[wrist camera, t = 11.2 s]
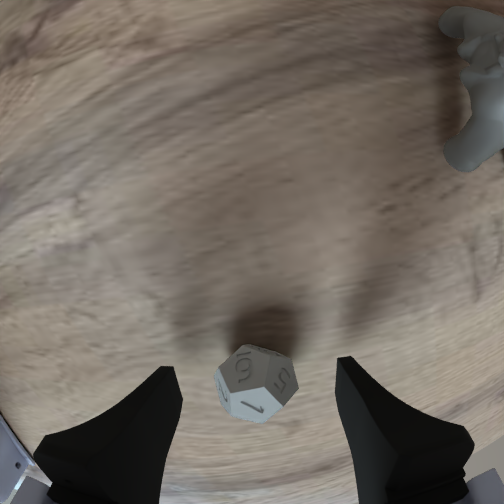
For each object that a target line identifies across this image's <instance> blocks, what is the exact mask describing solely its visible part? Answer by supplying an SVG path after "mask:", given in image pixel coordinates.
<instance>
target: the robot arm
mask: <svg viewBox="0 0 504 504" xmlns="http://www.w3.org/2000/svg"><path fill="white" fill-rule="evenodd" d="M335 396H336V401H337V407H338V412H339V415H340V418H341V421H342V424H343V428H344V431H345V434H346V437H347V440H348V443H349V446H350V450H351V454H352V458H353V464H354V470H355V476H356V483H357V490H358V498H359V504H504V484H503V483H502V480H501V479H500V477H499V475H498V474H497V471H496V469H495V468H492V469H490V470H489V471H486V472H484V473H482V474H480V475H478V476H476V477H474V478H472V479H471V480H469V481H468V482H467V483H465V481H464V479H463V477H465V474H466V473H465V471H464V469H463V467H464V465H465V464H466V462H467V461H468V459H469V457H470V456H471V454H472V452H473V450H474V446H475V443H474V442H473V440H472V438H471V436H470V435H469V433H468V431H467V430H466V429H465V427H464V426H462V425H458V424H454V423H450V422H446V421H443V420H440V419H438V418H435V417H432V416H430V415H427V414H425V413H423V412H421V411H419V410H417V409H415V408H413V407H411V406H409V405H408V404H406V403H404V402H403V401H401V400H400V399H398V398H397V397H395V396H394V395H392V394H391V393H390V392H389V391H387V390H386V389H385V388H384V387H382V386H381V385H380V384H379V383H378V382H377V381H376V380H375V379H373V378H372V377H371V376H370V375H369V374H368V373H367V372H366V371H365V370H364V369H363V368H362V367H361V366H360V365H359V364H358V363H357V362H356V361H355V359H354V358H353V357H351V356H348V357H340V358H337V371H336V384H335ZM182 402H183V398H182V394H181V391H180V388H179V385H178V381H177V378H176V374H175V371H174V367H173V366H160V367H159V368H158V369H157V370H156V371H155V372H154V373H153V374H151V375H150V376H149V377H148V378H147V379H146V380H145V381H144V382H143V383H142V384H141V385H139V386H138V387H137V388H136V389H135V390H134V391H133V392H131V393H130V394H129V395H128V396H126V397H125V398H124V399H123V400H121V401H120V402H119V403H117V404H116V405H115V406H113V407H112V408H110V409H109V410H107V411H105V412H104V413H102V414H100V415H99V416H97V417H95V418H93V419H91V420H89V421H87V422H85V423H83V424H80V425H78V426H75V427H73V428H70V429H67V430H64V431H61V432H57V433H53V434H49V435H45V437H44V438H43V440H42V441H41V443H40V444H39V446H38V447H37V449H36V450H35V452H34V453H33V457H34V460H35V462H36V464H37V465H38V466H39V468H40V469H41V470H42V471H43V472H44V473H45V475H46V476H47V477H48V478H49V479H50V480H51V481H52V482H53V483H52V485H51V487H49V486H48V485H46V484H44V483H43V482H40V481H38V480H36V479H34V478H31V477H29V476H26V478H25V479H24V481H23V483H22V484H21V486H20V488H19V489H18V491H17V493H16V495H15V496H14V498H13V500H12V501H11V503H10V504H159V498H160V490H161V484H162V477H163V472H164V467H165V462H166V458H167V454H168V451H169V448H170V445H171V442H172V439H173V436H174V433H175V430H176V427H177V424H178V421H179V418H180V413H181V408H182ZM35 462H34V461H33V459H32V458H31V457H30V456H29V454H28V453H27V452H26V450H25V449H24V448H23V446H22V445H21V444H20V442H19V441H18V440H17V438H16V437H15V436H14V434H13V433H12V431H11V430H10V428H9V427H8V425H7V424H6V422H5V421H4V419H3V418H2V416H1V415H0V504H1V503H3V502H4V501H5V500H6V499H7V498H8V497H9V496H10V494H11V492H12V490H13V489H14V487H15V486H16V484H17V482H18V481H19V479H20V477H21V476H22V474H23V473H24V471H25V469H26V468H27V466H28V465H29V464H30V465H32V466H34V465H35Z"/></svg>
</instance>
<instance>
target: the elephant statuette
mask: <svg viewBox="0 0 504 504" xmlns="http://www.w3.org/2000/svg"><path fill="white" fill-rule="evenodd" d="M438 25H439V28H440V30H441V31H442V32H443V33H444V34H445V35H447V36H449V37H452V38H462V39H464V41H463V42H462V43H461V44H460V45H459V46H458V49H457V52H458V54H459V55H460V57H461V58H463V59H464V60H465V61H466V62H468V63H469V64H470V66H468V67H465V68H464V69H462V70H461V72H460V80H461V82H462V84H463V85H464V87H465V88H466V89H467V91H468V92H469V95H470V99H471V109H472V115H471V117H470V119H469V120H468V122H467V123H466V125H465V126H464V127H463V129H462V130H461V131H460V132H459V134H457V135H455V136H453V137H451V138H449V139H448V140H447V141H446V143H445V145H444V149H443V152H444V156H445V159H446V160H447V162H448V163H449V164H450V165H451V166H452V167H453V168H454V169H456V170H458V171H461V172H471V171H474V170H475V169H477V168H478V167H479V166H480V165H481V163H482V162H484V161H486V160H487V159H489V158H490V157H492V156H493V155H494V154H495V153H497V152H498V151H499V150H501V149H503V148H504V17H501V16H498V15H495V14H493V13H490V12H487V11H484V10H480V9H476V8H472V7H461V6H453V7H450V8H449V9H447V10H446V11H445V12H444V13H443V14H442V15H441V17H440V18H439V22H438Z"/></svg>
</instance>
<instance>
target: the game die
mask: <svg viewBox="0 0 504 504" xmlns="http://www.w3.org/2000/svg"><path fill="white" fill-rule="evenodd" d="M214 378H215V382H216V386H217V390H218V394H219V398H220V402H221V404H222V406H223V407H224V408H225V409H226V411H227V412H228V413H229V414H230V415H231V416H232V417H236V418H240V419H244V420H248V421H252V422H257V423H261V424H263V423H264V422H265V421H266V420H268V419H269V418H270V417H271V416H273V415H274V414H275V413H276V412H277V411H279V410H280V409H281V408H282V407H283V406H284V405H285V404H286V403H287V402H288V401H289V399H290V398H291V397H292V396H293V395H294V393H295V392H296V391H297V390H298V389H299V387H298V383H297V379H296V375H295V371H294V367H293V363H292V360H291V359H290V358H288V357H286V356H284V355H282V354H280V353H278V352H275V351H272V350H268V349H265V348H261V347H258V346H254V345H251V344H246V345H242V346H241V347H240V348H239V349H238V350H237V351H236V352H234V353H233V354H232V355H231V356H230V357H229V358H228V359H227V360H226V361H225V362H224V363H222V364H221V365H220V366H219V367H218V369H217V371H216V373H215V375H214Z"/></svg>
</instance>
